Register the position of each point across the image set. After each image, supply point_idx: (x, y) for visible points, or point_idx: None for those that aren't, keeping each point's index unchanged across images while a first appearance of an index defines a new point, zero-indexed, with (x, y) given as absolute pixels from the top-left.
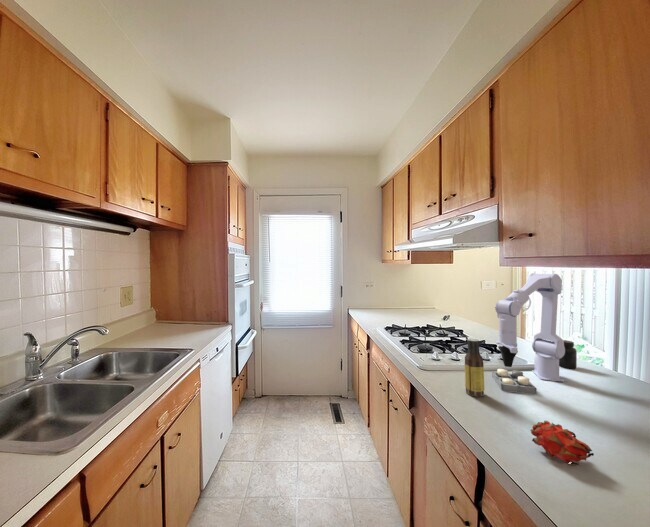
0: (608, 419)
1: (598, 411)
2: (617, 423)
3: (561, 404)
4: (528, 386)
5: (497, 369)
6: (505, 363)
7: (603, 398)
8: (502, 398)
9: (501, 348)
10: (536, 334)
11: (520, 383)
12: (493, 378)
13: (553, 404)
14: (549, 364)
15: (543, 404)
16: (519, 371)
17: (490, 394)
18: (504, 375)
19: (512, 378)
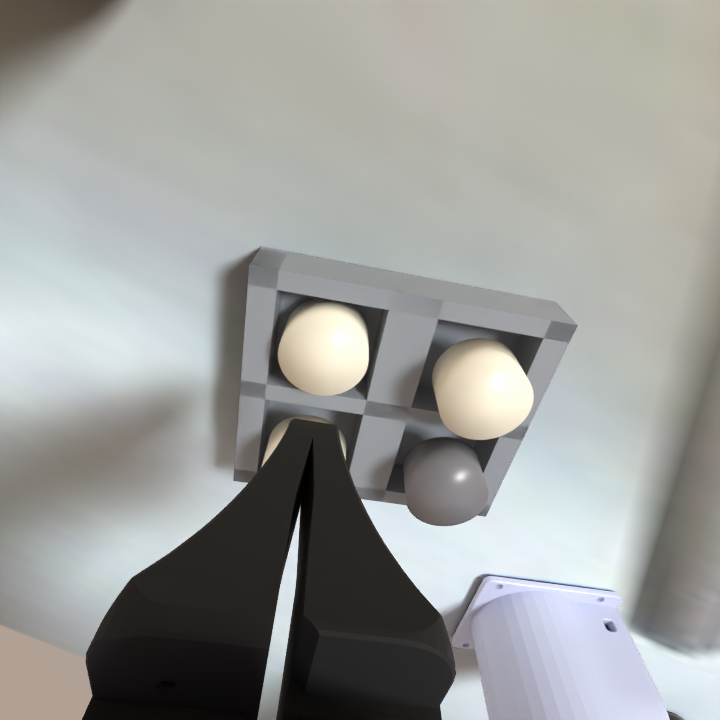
0: (44, 580)
1: (119, 590)
2: (17, 587)
3: (140, 499)
4: (257, 450)
5: (513, 368)
6: (280, 445)
7: (278, 664)
8: (82, 170)
9: (156, 645)
10: None
11: (284, 422)
12: (513, 296)
13: (122, 464)
14: (502, 713)
15: (97, 415)
16: (457, 515)
17: (134, 85)
18: (435, 380)
19: (408, 419)
